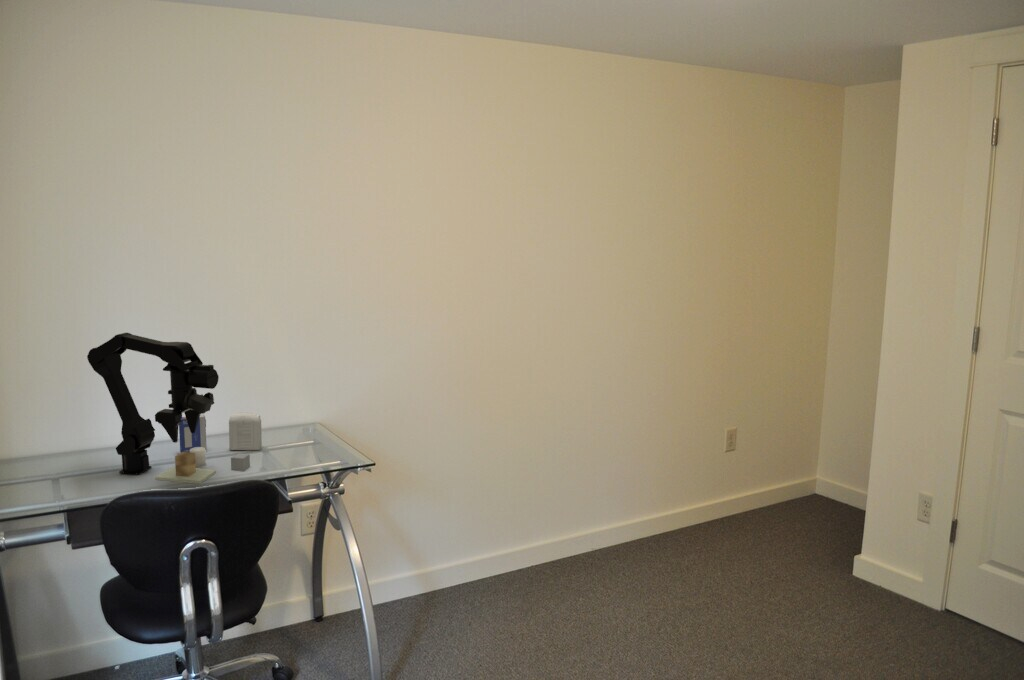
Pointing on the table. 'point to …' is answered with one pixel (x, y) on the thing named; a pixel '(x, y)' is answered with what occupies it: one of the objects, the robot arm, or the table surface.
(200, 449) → the white cylinder
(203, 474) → the sage board
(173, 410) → the robot arm
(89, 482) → the table surface
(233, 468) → the grey cube
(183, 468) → the oak block
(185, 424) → the walkman
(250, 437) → the photo printer
